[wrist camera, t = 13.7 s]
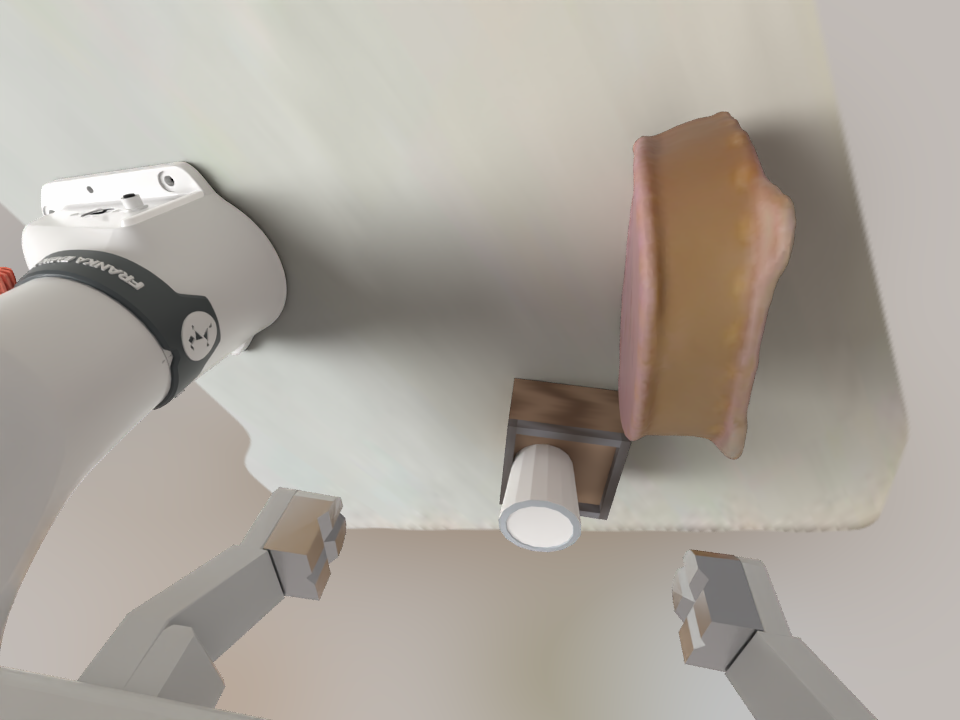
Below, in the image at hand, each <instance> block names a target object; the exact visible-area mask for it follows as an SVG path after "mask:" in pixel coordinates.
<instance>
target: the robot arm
mask: <svg viewBox="0 0 960 720" xmlns="http://www.w3.org/2000/svg"><path fill="white" fill-rule="evenodd" d="M170 177H171V178H172V179H173V180H174V183H173V182H172V181H171V179H170ZM41 206H42V212H43V217H41V218H39V219H36V220H34V221H32V222H30V223H28V224H27V225H26V226H25V228H24V230H23V233H22V248H23V252H24V257H25V260H26V263H27V265H28V268H29V271H28V272H27V273H26V274H25V275H24V276H23V277H22V278H21V279H20V280H19V281H18V282H16V278H15V276H14V273H13V271H12V270H11V269H10V268H7V267H0V648H1V643H2V638H3V633H4V629H5V626H6V623H7V619H8V616H9V613H10V610H11V608H12V605H13V603H14V600H15V598H16V595H17V593H18V590H19V588H20V586H21V584H22V582H23V579H24V577H25V575H26V573H27V571H28V569H29V567H30V565H31V563H32V561H33V559H34V557H35V555H36V553H37V551H38V550H39V548H40V546H41V544H42V542H43V540H44V539H45V537H46V535H47V533H48V531H49V530H50V528H51V526H52V525H53V523H54V521H55V520H56V518H57V516H58V514H59V513H60V511H61V510H62V508H63V507H64V505H65V504H66V502H67V501H68V499H69V498H70V496H71V495H72V494H73V492H74V491H75V490H76V488H77V487H78V486H79V484H80V483H81V482H82V480H83V479H84V478H85V477H86V476H87V475H88V474H89V472H90V471H91V470H92V469H93V468H94V467H95V466H96V465H97V464H98V463H99V462H100V461H101V460H102V459H103V458H104V457H105V455H107V454H108V452H110V451H111V449H113V448H114V447H115V446H116V445H117V444H118V443H119V442H120V440H121V439H123V438H124V437H125V435H127V434H128V432H130V431H131V430H132V429H133V428H134V427H135V426H136V425H137V424H138V423H139V422H140V421H141V420H142V419H143V418H144V417H145V416H146V415H147V414H148V413H149V412H151V411H152V410H155V409H158V408H161V407H162V406H164V405H166V404H167V403H168V402H170V401H171V400H172V399H173V398H174V397H175V398H176V397H177V396H178V395H180V394H181V393H182V392H183V391H185V390H184V389H185V388H186V387H187V386H188V385H189V384H190V383H191V382H192V381H194V380H196V379H198V378H199V377H200V376H202V375H203V374H204V373H206V372H207V371H208V370H210V369H211V368H212V367H214V366H215V365H216V364H218V363H219V362H220V361H222V360H223V359H224V358H226V357H227V356H228V355H230V354H231V355H238V354H240V353H241V352H243V351H244V350H245V349H246V348H247V347H248V346H249V344H250V342H251V341H252V338H253V336H254V335H255V334H257V333H258V332H260V331H261V330H263V329H265V328H267V327H268V326H270V325H271V324H272V323H273V322H274V321H275V320H276V319H277V318H278V317H279V315H280V314H281V312H282V310H283V307H284V305H285V301H286V293H287V286H286V278H285V273H284V270H283V267H282V264H281V261H280V259H279V257H278V255H277V253H276V251H275V249H274V247H273V246H272V244H271V242H270V241H269V240H268V238H267V237H266V236H265V234H264V233H263V232H262V231H261V229H260V228H259V227H258V226H257V225H256V224H255V223H254V222H253V221H252V220H251V219H250V218H249V217H248V216H246V215H245V214H244V213H243V212H241V211H240V210H239V209H237V208H236V207H234V206H233V205H232V204H230V203H229V202H227V201H226V200H224V199H223V198H222V197H220V196H219V195H218V194H217V193H216V192H215V191H214V190H213V189H212V187H211V186H210V185H209V184H208V182H207V181H206V180H205V179H204V178H203V176H202V175H201V174H200V173H199V172H198V171H197V170H196V169H195V168H194V167H193V166H191V165H190V164H188V163H185V162H173V163H166V164H159V165H153V166H146V167H139V168H132V169H125V170H118V171H111V172H104V173H97V174H91V175H84V176H77V177H70V178H63V179H57V180H53V181H50V182H48V183H46V184H44V185H43V186H42V191H41ZM342 507H343V504H342V500H341V497H336V496H330V495H324V494H318V493H312V492H306V491H301V490H295V489H288V488H282V487H279V488H278V489H277V490H276V491H274V492H273V493H272V495H271V497H270V498H269V500H268V501H267V503H266V505H265V506H264V508H263V509H262V511H261V512H260V514H259V516H258V517H257V519H256V520H255V522H254V523H253V525H252V526H251V528H250V530H249V531H248V533H247V534H246V536H245V537H244V539H243V541H242V542H241V544H240V545H232V546H231V547H229V548H228V549H226V550H225V551H223V552H222V553H220V554H218V555H217V556H215V557H214V558H212V559H211V560H209V561H208V562H206V563H205V564H203V565H202V566H200V567H198V568H197V569H195V570H194V571H192V572H191V573H189V574H188V575H187V576H185V577H183V578H182V579H180V580H179V581H177V582H175V583H174V584H172V585H171V586H169V587H168V588H166V589H165V590H163V591H162V592H160V593H159V594H157V595H155V596H154V597H152V598H151V599H149V600H148V601H146V602H145V603H143V604H142V605H140V606H139V607H137V608H136V609H134V610H132V611H131V612H129V613H128V614H127V615H126V616H125V618H124V619H123V621H122V622H121V623H120V624H119V626H118V627H117V628H116V630H115V631H114V632H113V634H112V635H111V636H110V638H109V639H108V640H107V642H106V643H105V644H104V646H103V647H102V648H101V650H100V651H99V653H98V654H97V655H96V656H95V658H94V659H93V660H92V662H91V663H90V664H89V666H88V667H87V668H86V670H85V671H84V672H83V674H82V675H81V676H80V678H79V679H78V680H77V681H75V680H69V679H65V678H59V677H54V676H50V675H45V674H40V673H34V672H29V671H24V670H19V669H14V668H9V667H4V666H0V720H271V719H266V718H261V717H255V716H250V715H246V714H240V713H236V712H231V711H225V710H220V709H215V706H216V704H217V702H218V700H219V698H220V696H221V694H222V692H223V690H224V688H225V683H224V679H223V678H222V676H221V674H220V673H219V671H218V670H217V668H216V666H215V665H214V663H213V662H214V661H215V660H216V659H218V657H220V656H221V655H222V654H223V653H224V652H225V651H226V650H228V649H229V648H230V647H231V646H232V645H233V644H234V643H235V642H236V641H237V640H239V639H240V638H241V637H242V636H243V635H244V634H245V633H246V632H247V631H248V630H250V629H251V628H252V627H253V626H254V625H255V624H256V623H257V622H258V621H260V620H261V619H262V618H263V617H264V616H265V615H266V614H267V613H268V612H269V611H270V610H272V609H273V608H274V607H275V606H276V605H277V604H278V603H279V602H281V600H283V599H284V596H291V597H298V598H305V599H312V600H320V598H321V596H322V593H323V591H324V589H325V586H326V584H327V582H328V579H329V577H330V575H331V572H330V568H329V563H330V562H332V561H333V560H335V559H336V558H337V557H338V556H339V554H340V551H341V549H342V547H343V543H344V539H345V535H346V520H345V517H344V516H343V515H342V514H341V513H340V511H341V509H342ZM683 561H684V566H683V567H681V568H679V569H677V571H676V574H675V576H674V578H673V587H672V597H673V604H674V611H675V613H676V614H677V615H678V616H679V618H680V619H681V620H682V621H683V625H682V627H681V629H680V631H679V637H680V642H681V647H682V652H683V657H684V662H685V664H688V665H693V666H698V667H703V668H709V669H713V670H718V671H723V672H726V673H725V675H726V677H727V678H728V679H729V681H730V682H731V684H732V685H733V687H734V688H735V690H736V691H737V693H738V694H739V696H740V697H741V698H742V700H743V702H744V703H745V704H746V706H747V708H748V709H749V710H750V712H751V713H752V715H753V716H754V718H755V719H756V720H878V719H877V718H876V717H875V716H874V715H873V714H872V713H871V712H870V711H869V710H868V709H867V708H866V707H865V706H864V705H863V704H862V703H861V702H860V701H859V699H858V698H857V697H856V696H855V695H854V694H853V693H852V692H851V691H850V690H849V689H848V688H847V687H846V686H845V685H844V684H843V683H842V682H841V681H840V680H839V679H838V677H837V676H836V675H835V674H834V673H833V672H832V671H831V670H830V669H829V668H828V667H827V666H826V665H825V664H824V663H823V662H822V661H821V660H820V659H819V658H818V657H817V655H816V654H815V653H814V652H813V651H812V650H811V649H810V648H809V647H808V646H807V645H806V644H805V643H804V642H803V641H802V640H801V639H800V638H797V637H793V636H792V634H791V632H790V629H789V627H788V624H787V621H786V619H785V616H784V613H783V611H782V608H781V606H780V603H779V601H778V598H777V595H776V592H775V590H774V587H773V585H772V582H771V580H770V577H769V574H768V572H767V569H766V566H765V565H764V563H763V562H761V560H758V559H752V558H744V557H736V556H734V555H727V554H720V553H713V552H706V551H698V550H688V551H686V553H685V555H684V557H683Z"/></svg>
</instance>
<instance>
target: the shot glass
mask: <svg viewBox="0 0 960 720" xmlns="http://www.w3.org/2000/svg"><path fill="white" fill-rule="evenodd" d="M499 527H500V530H501V531H502V533H503V535H504V536H505V537H506V539H508V540H509V541H511V542H513V543H514V544H515V545H517V546H519V547H522V548H525V549H528V550H531V551H541V552H542V551H543V552H551V551H557V550H563V549H565V548H567V547H568V546H570V545H572V544H574V543H575V542H576V540H577V539H578V537H579V536H580V535H581V521H580V514H579V506H578V499H577V492H576V484H575V477H574V470H573V463H572V461H571V459H570V457H569V455H568V454H566V453H565V452H564V451H562V450H561V449H560V448H557V447H554V446H551V445H547V444H535V445H531V446H527V447H524V448H523V449H522V450H520V451H519V452H517V454H516V456H515V458H514V460H513V464H512V468H511V472H510V476H509V480H508V484H507V488H506V492H505V496H504V500H503V504H502V508H501V512H500V516H499Z"/></svg>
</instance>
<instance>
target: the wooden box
mask: <svg viewBox="0 0 960 720" xmlns="http://www.w3.org/2000/svg"><path fill="white" fill-rule="evenodd" d="M618 397H619V395H618V391H614V390H606V389H598V388H590V387H582V386H574V385H566V384H557V383H549V382H541V381H533V380H525V379H517V378H515V379H514V386H513V393H512V400H511V407H510V414H509V421H508V429H507V438H506V448H505V457H504V466H503V476H502V485H501V495H500V504H503V500H504V496H505V492H506V488H507V484H508V480H509V476H510V472H511V468H512V464H513V460H514V458H515V456H516V454H517V452H519V451H520V450H522V449H523V448H524V447H527V446H531V445H535V444H547V445H551V446H554V447H557V448H560V449H561V450H562V451H564V452H565V453H566V454H568V455H569V457H570V459H571V461H572V463H573V470H574V477H575V484H576V492H577V499H578V506H579V514H580V516H583V517H590V518H597V519H604V520H607V518H608V515H609V511H610V508H611V505H612V502H613V499H614V496H615V492H616V489H617V486H618V483H619V480H620V477H621V473H622V470H623V467H624V464H625V461H626V458H627V454H628V451H629V448H630V445H631V441H630V440H629V439H628V438H627V437H626V436H625V434H624V430H623V428H622V423H621V420H620V409H619V398H618Z"/></svg>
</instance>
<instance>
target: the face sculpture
mask: <svg viewBox="0 0 960 720" xmlns="http://www.w3.org/2000/svg"><path fill="white" fill-rule="evenodd" d="M633 152H634V162H633V173H634V194H633V199H632V205H631V211H630V221H629V228H628V237H627V248H626V261H625V272H624V283H623V290H622V307H621V322H620V345H619V347H620V354H619V359H620V365H619V378H618V395H619V397H618V398H619V409H620V420H621V423H622V428H623V430H624V434H625V436H626V437H627V438H628V439H629V440H630V441H636V440H638V439H640V438H642V437H643V436H646V435H662V436H670V435H677V436H695V437H702V438H706V439H709V440H710V441H712V442H713V443H714V444H715V445H716V446H717V447H718V449H719V450H720V451H721V452H722V453H723V454H724V455H725V456H726V457H728V458H730V459H737V458H739V457H740V456H741V454H742V452H743V448H744V444H745V438H746V433H747V408H748V405H749V401H750V395H751V390H752V386H753V382H754V379H755V374H756V371H757V368H758V363H759V350H760V344H761V340H762V336H763V332H764V328H765V323H766V318H767V314H768V310H769V307H770V304H771V301H772V297H773V293H774V289H775V287H776V284H777V282H778V280H779V278H780V276H781V275H782V273H783V272H784V270H785V268H786V266H787V264H788V262H789V259H790V256H791V252H792V248H793V244H794V233H795V228H796V218H795V210H794V204H793V202H792V200H791V199H790V197H789V196H786V195H784V194H783V193H782V192H781V190H780V189H779V188H778V186H776V185H774V184H773V183H771V182H770V180H769V179H768V178H767V177H766V176H765V174H764V171H763V168H762V167H761V164H760V161H759V159H758V155H757V153H756V151H755V148H754V146H753V144H752V142H751V140H750V138H749V135H748V133H747V132H746V131H744V130H742V129H741V127H740V125H739V123H738V121H737V120H736V119H734V118H733V117H732V116H731V115H730V114H729V113H728V112H719V113H716V114H714V115H712V116H709V117H703V118H698V119H695V120H692V121H689V122H686V123H684V124H681V125H678V126H676V127H674V128H672V129H669V130H667V131H665V132H663V133H661V134H658V135H654V136H642V137H640V138H639V139H638V140H637V141H636V142H635V144H634V145H633Z"/></svg>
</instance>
